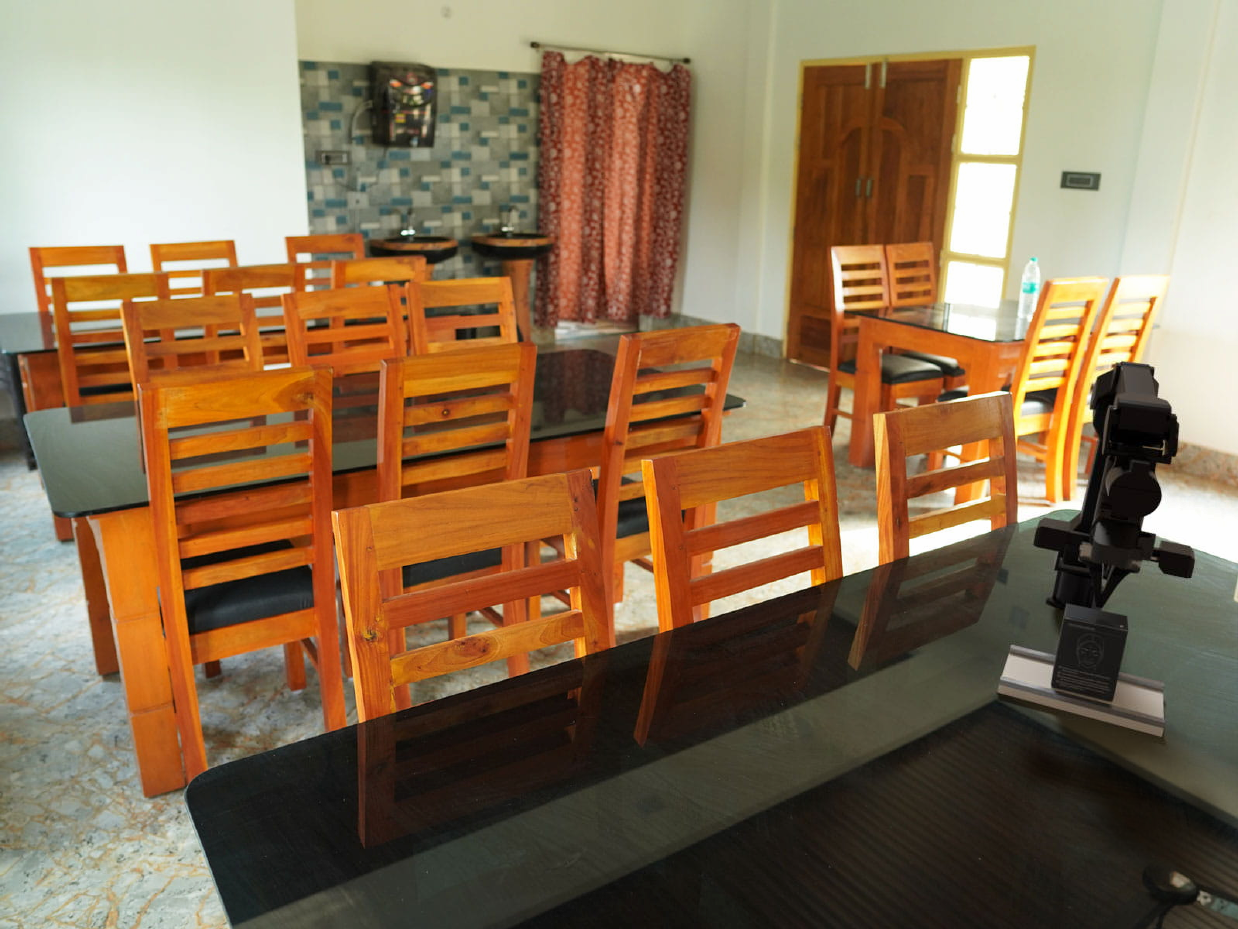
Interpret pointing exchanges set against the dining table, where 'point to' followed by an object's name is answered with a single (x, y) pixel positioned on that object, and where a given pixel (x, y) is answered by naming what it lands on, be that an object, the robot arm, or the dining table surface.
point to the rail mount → (1129, 708)
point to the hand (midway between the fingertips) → (1099, 606)
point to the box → (1089, 651)
